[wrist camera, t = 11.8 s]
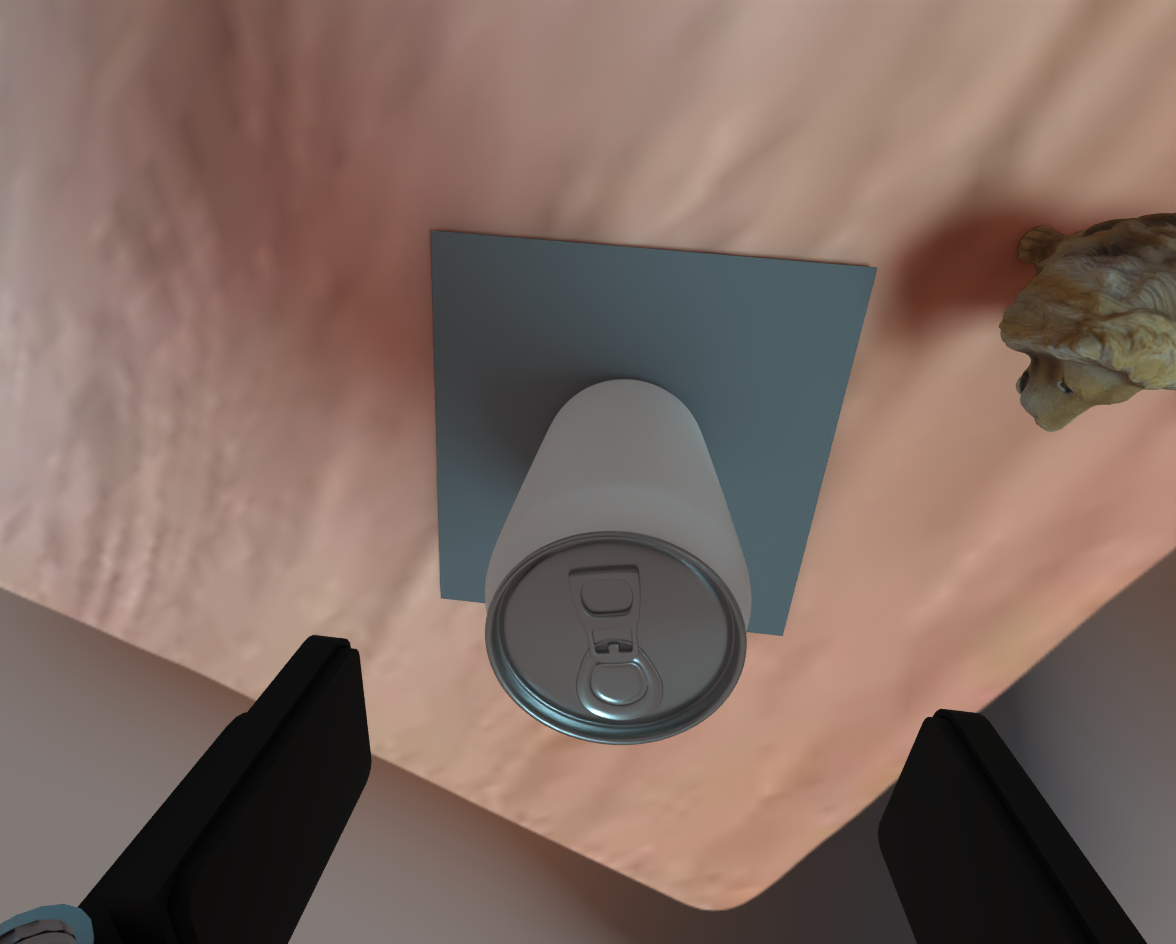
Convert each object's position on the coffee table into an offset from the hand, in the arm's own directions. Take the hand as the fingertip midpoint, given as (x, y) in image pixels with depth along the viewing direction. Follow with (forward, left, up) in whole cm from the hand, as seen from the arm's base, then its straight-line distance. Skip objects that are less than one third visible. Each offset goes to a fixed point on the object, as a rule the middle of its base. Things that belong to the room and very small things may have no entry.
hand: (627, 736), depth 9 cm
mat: (+1, 0, -15) cm, 15 cm away
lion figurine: (-7, +16, -16) cm, 24 cm away
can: (0, 0, -15) cm, 15 cm away
